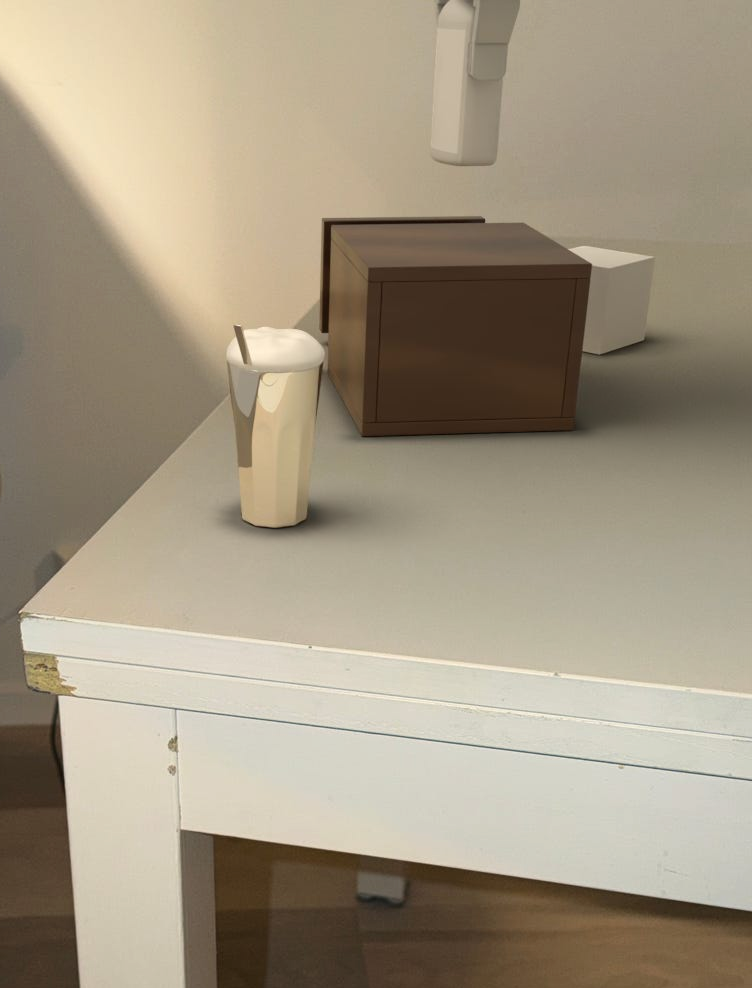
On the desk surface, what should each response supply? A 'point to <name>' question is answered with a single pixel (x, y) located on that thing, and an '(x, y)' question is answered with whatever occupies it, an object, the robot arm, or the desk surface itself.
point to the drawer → (365, 221)
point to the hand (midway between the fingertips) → (469, 75)
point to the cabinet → (455, 327)
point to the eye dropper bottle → (462, 96)
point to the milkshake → (274, 420)
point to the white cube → (616, 298)
